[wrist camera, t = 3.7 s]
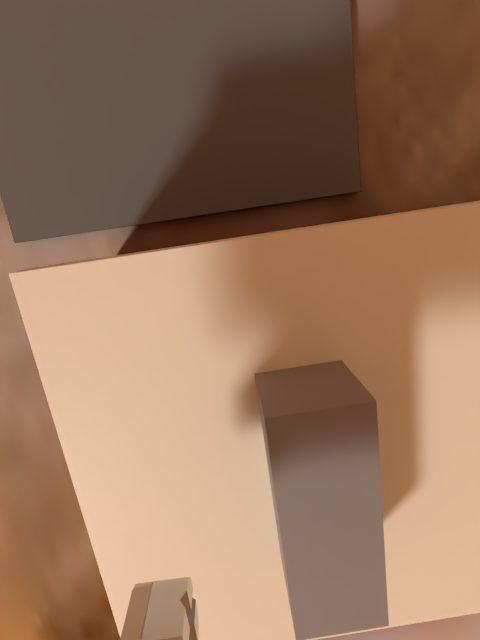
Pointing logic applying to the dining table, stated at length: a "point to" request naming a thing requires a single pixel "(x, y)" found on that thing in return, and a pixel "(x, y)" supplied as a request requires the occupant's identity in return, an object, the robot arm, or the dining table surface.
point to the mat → (171, 109)
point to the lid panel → (202, 418)
